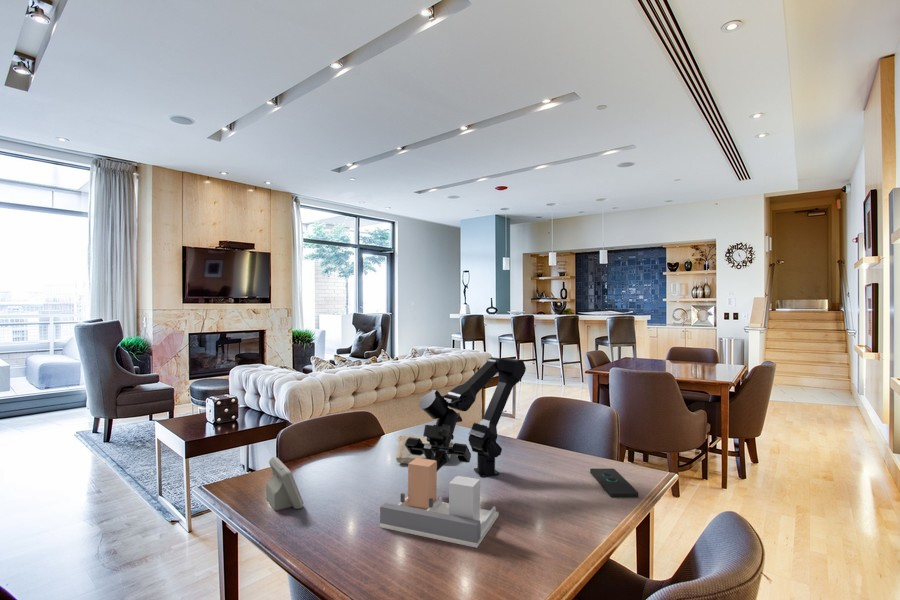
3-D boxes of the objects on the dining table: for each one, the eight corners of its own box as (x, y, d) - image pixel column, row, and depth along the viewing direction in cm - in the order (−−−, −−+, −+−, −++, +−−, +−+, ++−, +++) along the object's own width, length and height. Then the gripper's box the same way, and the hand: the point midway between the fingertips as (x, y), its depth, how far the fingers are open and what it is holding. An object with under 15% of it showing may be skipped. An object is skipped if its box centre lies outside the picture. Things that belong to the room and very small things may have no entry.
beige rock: (448, 445, 185) (396, 441, 183) (450, 426, 185) (398, 422, 183) (452, 470, 161) (393, 465, 159) (455, 448, 160) (395, 443, 159)
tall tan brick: (416, 497, 130) (416, 457, 130) (436, 501, 128) (436, 460, 128) (408, 505, 126) (408, 463, 126) (428, 509, 123) (428, 466, 123)
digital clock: (304, 510, 125) (304, 470, 125) (267, 516, 122) (267, 475, 122) (298, 488, 140) (298, 452, 140) (265, 493, 137) (265, 456, 137)
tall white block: (456, 520, 117) (456, 475, 117) (479, 524, 115) (480, 479, 115) (449, 529, 113) (449, 482, 113) (472, 534, 110) (473, 486, 110)
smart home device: (614, 467, 154) (640, 493, 134) (614, 473, 154) (639, 499, 134) (588, 468, 154) (610, 493, 134) (588, 473, 154) (610, 499, 134)
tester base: (411, 500, 132) (411, 482, 132) (498, 515, 122) (498, 496, 122) (380, 527, 116) (380, 506, 116) (476, 547, 107) (477, 525, 107)
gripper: (407, 409, 139) (388, 458, 129) (467, 415, 132) (452, 468, 122) (419, 429, 146) (402, 478, 136) (476, 436, 139) (463, 488, 129)
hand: (428, 477), depth 131 cm, fingers closed
